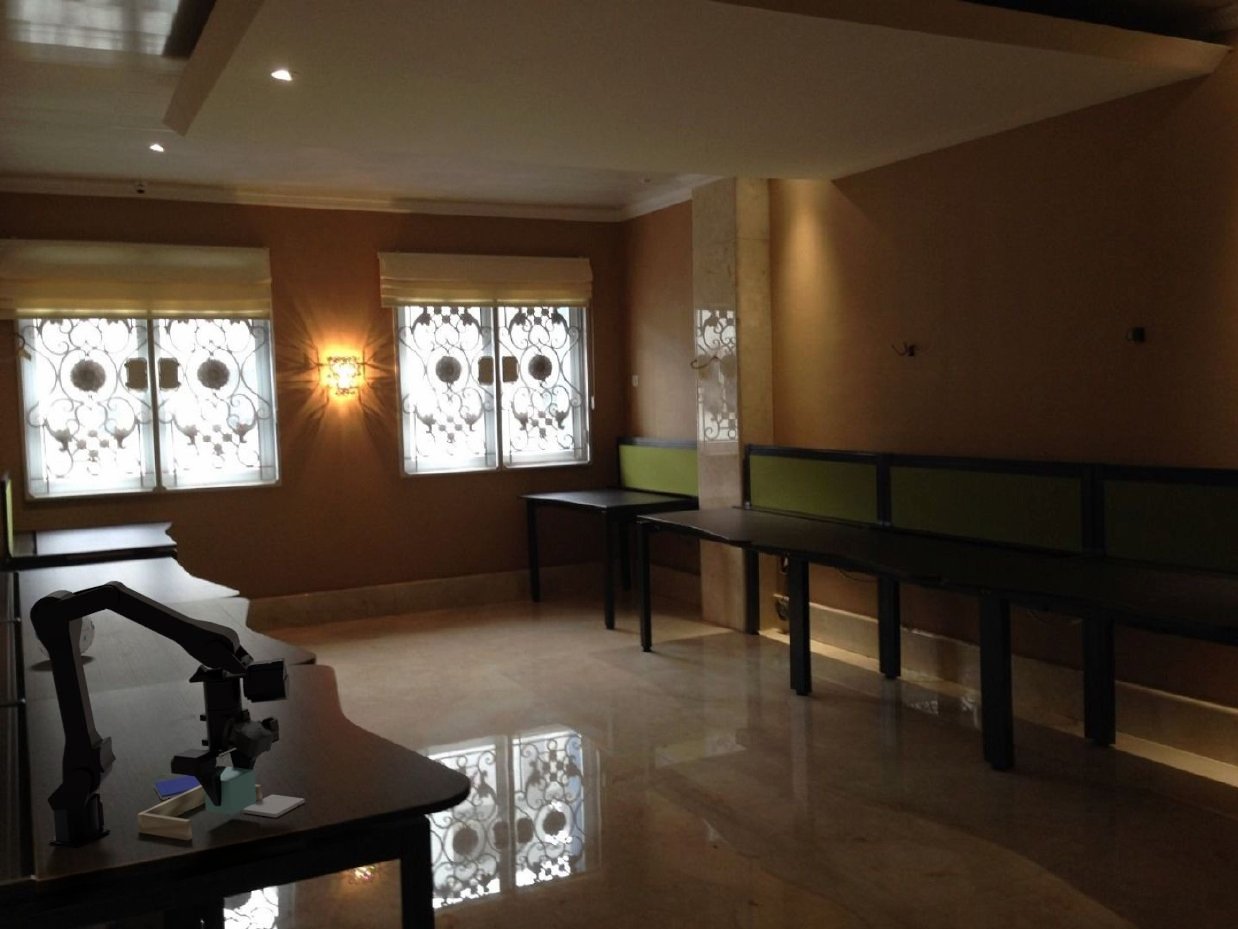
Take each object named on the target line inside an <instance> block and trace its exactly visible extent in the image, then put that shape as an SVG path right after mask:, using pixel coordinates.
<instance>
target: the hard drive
mask: <svg viewBox="0 0 1238 929" xmlns="http://www.w3.org/2000/svg"><path fill="white" fill-rule="evenodd" d="M200 785H201V784H200V783H199V781H198V780H197V779H196V778H195V776H188V775H183V776H180V777H176V778H171V779H166V780H162V781H158V782H154V783H153V788H154V790H155V792H156V793H157V795H158V796H159V799H160V800H161V799H162V800H163V801H167V800H169V799H168V798H173V797H176V796H178V795H180V794H182V793H184V792H187V791H189V790H191V789H193V788H195V787H197V786H200ZM166 799H167V800H166ZM162 800H161V801H162Z"/></svg>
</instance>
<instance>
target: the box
mask: <svg viewBox="0 0 1238 929" xmlns="http://www.w3.org/2000/svg"><path fill="white" fill-rule="evenodd" d="M255 791H256V802H258V801H260V800H262V799H263V789H262V784H257V783H255ZM203 804H205V792H204V789H203V787H202V786H201V785H200V786H197V787H195V788H193V789H191V790H189V791H187V792H184V793H182V794H180V795H178V796H176V797H173V798H171V799H167V800H164V801H162V802H161V803H158V804H157V805H154V806H152V807H150V808H147V809H145V810H143V811H141V812H139V813H137V814H136V815H137V826H138V833H141V834H148V835H155V836H159V837H165V838H170V839H171V838H172V839H177V840H184V841H190V840H192V839H193V834H192V832H193V830H192V820H191V819H187V818H180V817H178V816H180V815H183V814H184V812H185V813H187V812H188V810H189V811H190V809H191V810H193V809H194V808H196V807H199V806H201V805H203ZM186 811H187V812H186ZM175 816H176V817H175Z"/></svg>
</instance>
